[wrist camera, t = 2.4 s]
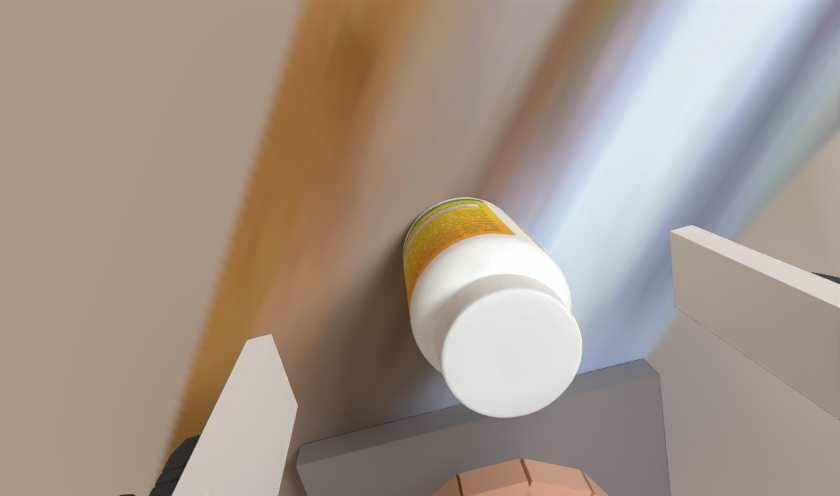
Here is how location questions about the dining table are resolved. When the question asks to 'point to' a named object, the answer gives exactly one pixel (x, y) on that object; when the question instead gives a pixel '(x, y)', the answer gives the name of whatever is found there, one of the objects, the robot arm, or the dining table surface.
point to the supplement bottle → (489, 309)
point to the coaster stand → (509, 447)
